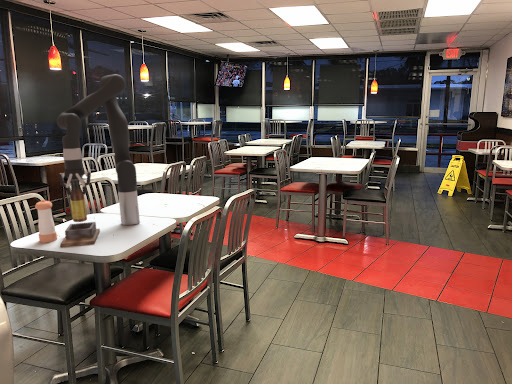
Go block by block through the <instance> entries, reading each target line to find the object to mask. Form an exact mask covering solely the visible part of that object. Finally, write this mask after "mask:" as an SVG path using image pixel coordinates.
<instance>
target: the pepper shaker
mask: <svg viewBox="0 0 512 384" xmlns="http://www.w3.org/2000/svg"><path fill="white" fill-rule="evenodd" d="M52 207H53V203H52V202H51V201H49V200H45V199H41V201H38V202H36V204H35V206H34V208H35V209H36V210H37V215H38V226H37V227H38V232H39V233H38V239H39V240H38V241H39V243H45V244H46V243H53V242H55V241H57V240H58V235H57V231H56V228H55V227H56V226H55V222H54V218H53V214H52Z"/></svg>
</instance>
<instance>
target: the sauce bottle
mask: <svg viewBox="0 0 512 384" xmlns="http://www.w3.org/2000/svg"><path fill="white" fill-rule="evenodd" d="M70 183H71V184H70V188H71V193H70V196H69V201H70V209H71V216H72V220H73V222H75V223H84V222H85V221H88V217H87V216H88V213H87V207H86V199H85V195H83V189H82V188H81V185H80V184H81V183H80V181H79V179H75V180H70Z"/></svg>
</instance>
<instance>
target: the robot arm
mask: <svg viewBox="0 0 512 384" xmlns="http://www.w3.org/2000/svg"><path fill="white" fill-rule="evenodd" d="M126 84H127V83H126V80H125V78H124V77H123V76H122V75H120V74H117V73H114V74H113V73H112V74H108V75H104V76H102V77H101V79H100V81H99V87H100V88H99V89H98V90H96V91H95V92H93V93H90V94H89V95H87V96H85V97H84V98H83V99H81V100H80V101H79V102H77V103H76V104H75V105H74V106H72V107H70V108H69V109H66V110H65V111H63V112H61V113H60V114H59V115H58V116H57V118H56V125H57V126H58V128H60V129H61V130H66V134H65V135H63V136H62V139H61V141H62V148H63V152H62V156H63V164H64V172H60V173H58V174H57V176H58V179H59V182H60V185H61V187H65V189H66V194H67V195H68V196H69V197H70V193H71V183H70V180H75V179H79V181H80V182H79V184H81V185H82V188H81V190H82V191H83V195H84V196H85V195H86V194H87V186H89V185H90V184H91V175H92V172H91V171H85V170H84V165H83V163H84V162H83V155H82V150H81V143H80V141H81V140H80V138H81V137H80V136H81V129H82V122H81V121H82V120H84V119H87V117H89V116H90V115H91V114H92V113H94V112H95V111H96V110H97V109H98V108H100V107H101V106H102V105H104V108H105V112H106V113H105V114H106V117H107V123H108V130H109V137H110V140H111V144H112V147H113V152H114V162H115V163H114V164H115V165H114V166H115V172H116V175H117V176H116V177H117V193H118V203H119V214H120V215H119V216H120V222H121V223H120V224H121V225H123V226H132V225H133V226H134V225H137V224H140V220H141V218H140V209H139V200H138V199H139V198H138V187H137V186H138V182H137V169H136V166H135V164H134V162H132V158H131V153H130V148H129V147H130V130H129V124H128V120H127V118H126V115H125V114H124V113H123V111H122V109H121V107H120V105H119V103H118V99H117V95H119V94H121V93H123V92H124V91H125V89H126V86H127V85H126ZM84 175H85V176H86V182H85V179H84V178H83V177H84ZM65 176H66V178H67V181H66V182H65V180H64V178H65Z"/></svg>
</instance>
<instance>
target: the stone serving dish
mask: <svg viewBox="0 0 512 384" xmlns="http://www.w3.org/2000/svg"><path fill="white" fill-rule="evenodd" d="M100 232H101V230H100V228H99V227H98V228H97V223H96V221H89V222H75V223H70V224H69V225H68V226H67V227H66V229H65V230H64V234H65V236H64V238H63V239H62V240H61V242H60V244H59V245H60V248H65V247H66V248H67V247H76V246H78V247H79V246H86V245H88V246H89V245H95V244H96V241H97V239H98V238H99V237H98V236H99V235H100Z"/></svg>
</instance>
